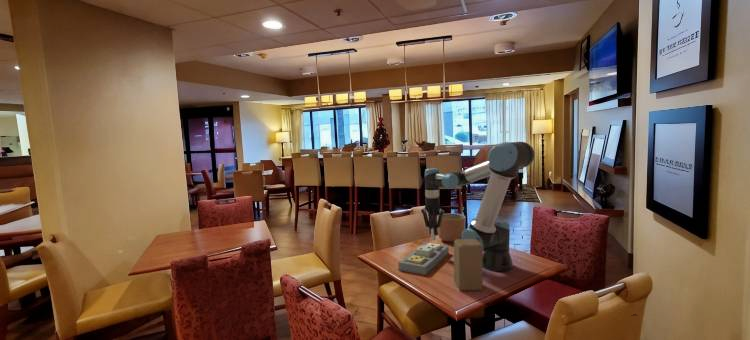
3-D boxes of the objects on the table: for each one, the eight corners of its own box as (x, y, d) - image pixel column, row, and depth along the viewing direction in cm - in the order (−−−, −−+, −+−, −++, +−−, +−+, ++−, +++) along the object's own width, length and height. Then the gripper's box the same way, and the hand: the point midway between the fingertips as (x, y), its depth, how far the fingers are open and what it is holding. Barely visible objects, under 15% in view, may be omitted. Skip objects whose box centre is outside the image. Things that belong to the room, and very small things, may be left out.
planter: (471, 241, 219) (471, 217, 217) (450, 246, 210) (450, 221, 209) (452, 234, 233) (452, 211, 232) (431, 239, 225) (431, 215, 223)
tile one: (440, 251, 198) (440, 244, 198) (436, 255, 192) (436, 247, 192) (428, 249, 202) (428, 242, 201) (424, 253, 196) (424, 246, 195)
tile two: (433, 254, 189) (433, 246, 188) (428, 258, 183) (428, 250, 182) (421, 252, 192) (421, 244, 192) (416, 256, 186) (416, 248, 186)
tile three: (425, 264, 179) (425, 256, 179) (420, 269, 173) (420, 261, 173) (412, 262, 183) (412, 254, 182) (407, 267, 177) (407, 258, 176)
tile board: (448, 253, 199) (448, 246, 199) (425, 275, 170) (425, 267, 169) (424, 249, 206) (424, 242, 205) (398, 270, 177) (398, 262, 176)
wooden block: (475, 281, 162) (476, 237, 160) (483, 291, 152) (483, 245, 150) (453, 282, 161) (453, 238, 159) (459, 292, 152) (459, 245, 149)
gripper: (446, 196, 194) (447, 239, 196) (423, 195, 200) (424, 236, 202) (441, 198, 187) (442, 243, 189) (418, 197, 194) (419, 240, 196)
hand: (433, 239), depth 196 cm, fingers closed
